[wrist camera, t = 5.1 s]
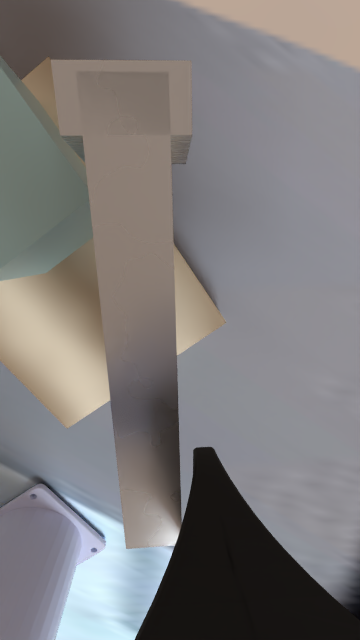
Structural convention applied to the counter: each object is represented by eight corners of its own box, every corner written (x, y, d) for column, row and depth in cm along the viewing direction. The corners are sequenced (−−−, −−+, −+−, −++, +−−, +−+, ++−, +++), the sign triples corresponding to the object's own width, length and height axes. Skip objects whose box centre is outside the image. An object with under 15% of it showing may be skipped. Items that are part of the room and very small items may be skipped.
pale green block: (45, 273, 14) (-21, 284, 9) (-42, 168, 12) (-177, 115, 7) (120, 216, 13) (93, 196, 8) (38, 100, 12) (-52, -6, 7)
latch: (183, 417, 16) (196, 543, 9) (135, 419, 16) (111, 550, 9) (177, 167, 13) (191, 60, 6) (116, 168, 12) (50, 59, 5)
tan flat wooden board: (77, 409, 18) (66, 428, 16) (-98, 224, 15) (-139, 219, 13) (219, 314, 17) (226, 322, 15) (65, 85, 13) (48, 56, 11)
